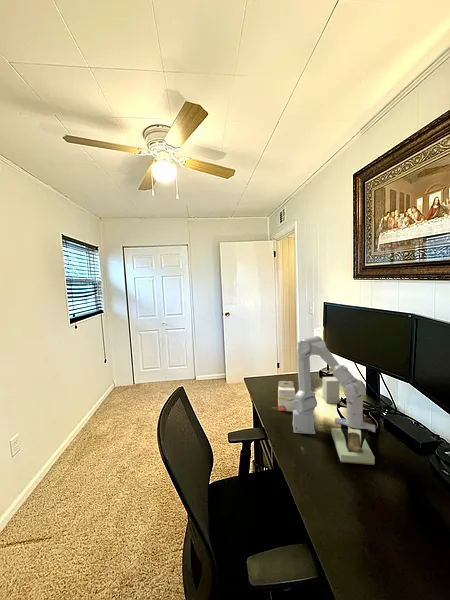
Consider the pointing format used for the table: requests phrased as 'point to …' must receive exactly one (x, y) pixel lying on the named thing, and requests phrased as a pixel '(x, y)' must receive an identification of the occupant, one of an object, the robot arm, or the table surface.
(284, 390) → the ink cartridge box
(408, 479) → the table surface
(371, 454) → the socket block
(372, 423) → the bolt
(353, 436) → the pin
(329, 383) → the supplement box
